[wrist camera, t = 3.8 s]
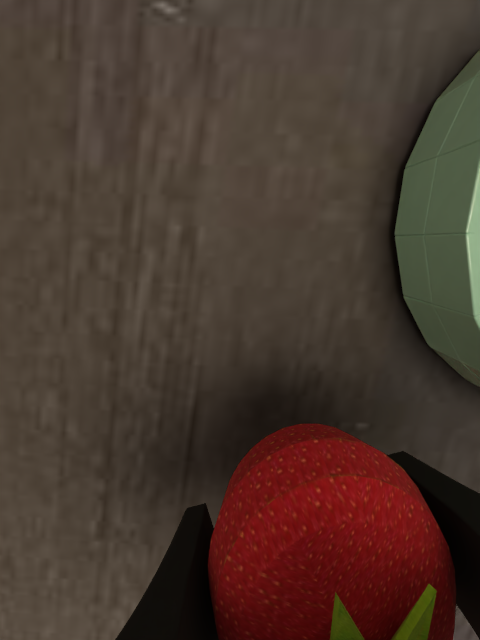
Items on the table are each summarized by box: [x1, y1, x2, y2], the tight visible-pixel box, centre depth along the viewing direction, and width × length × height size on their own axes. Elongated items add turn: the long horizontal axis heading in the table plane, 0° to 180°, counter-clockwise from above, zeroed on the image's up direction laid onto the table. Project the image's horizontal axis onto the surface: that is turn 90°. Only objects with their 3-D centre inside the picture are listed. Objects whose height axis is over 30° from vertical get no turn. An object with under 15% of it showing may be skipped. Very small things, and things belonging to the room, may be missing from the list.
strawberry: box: [208, 424, 456, 640], centre depth 10 cm, size 6×8×10 cm
